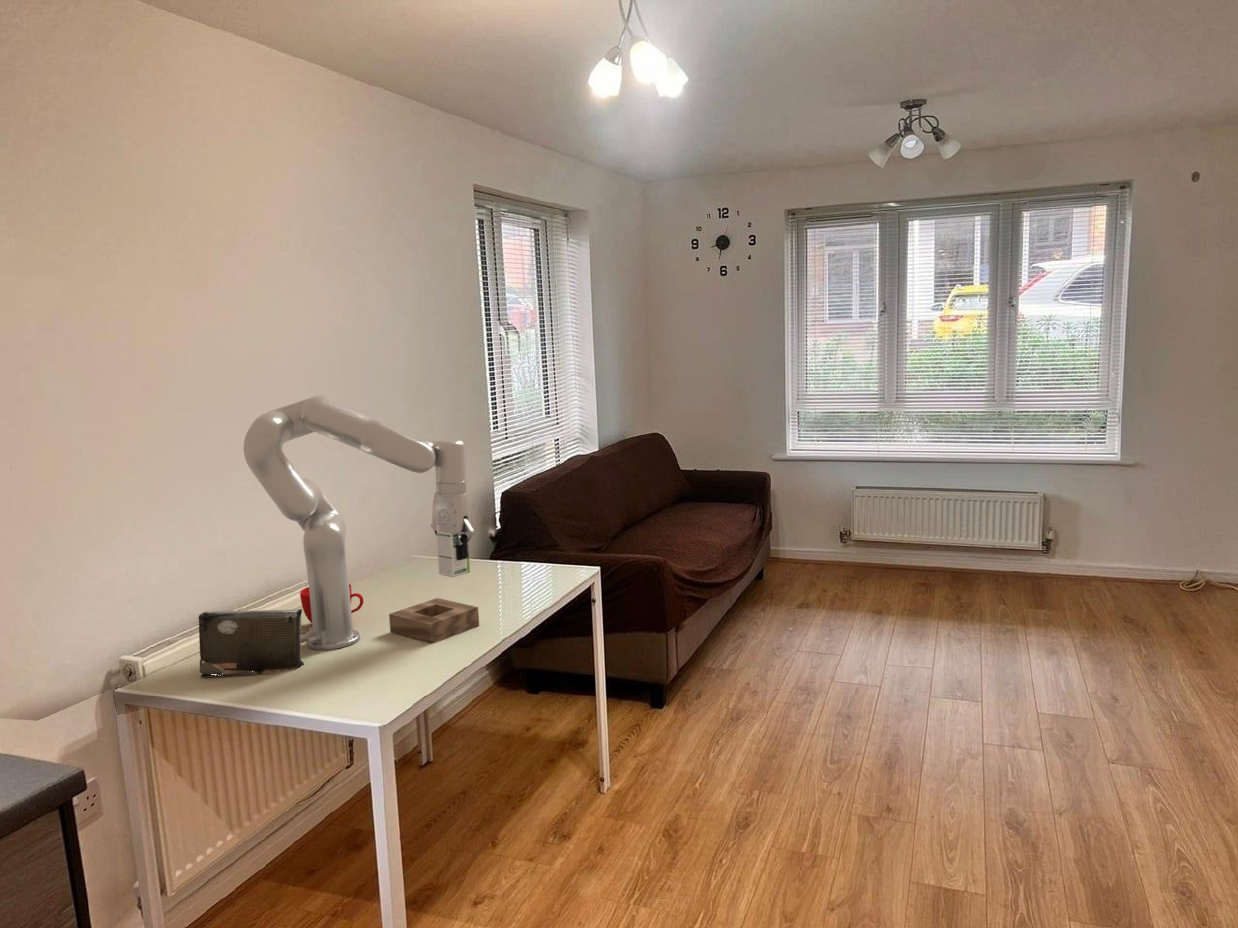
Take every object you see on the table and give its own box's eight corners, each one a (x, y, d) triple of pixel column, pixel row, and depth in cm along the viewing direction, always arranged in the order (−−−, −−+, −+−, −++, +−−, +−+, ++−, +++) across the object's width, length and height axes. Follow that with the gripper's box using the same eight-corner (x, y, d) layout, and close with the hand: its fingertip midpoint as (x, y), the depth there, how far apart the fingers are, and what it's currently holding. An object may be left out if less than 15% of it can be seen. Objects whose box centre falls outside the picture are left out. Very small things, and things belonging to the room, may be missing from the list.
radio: (312, 661, 207) (306, 600, 205) (300, 675, 198) (293, 611, 196) (213, 665, 207) (206, 605, 204) (197, 679, 198) (189, 616, 196)
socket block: (431, 643, 215) (429, 624, 214) (390, 632, 225) (389, 613, 224) (479, 625, 227) (478, 607, 227) (438, 615, 237) (437, 597, 236)
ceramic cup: (353, 634, 225) (349, 596, 223) (293, 632, 228) (290, 595, 227) (376, 618, 237) (373, 582, 236) (320, 616, 241) (316, 581, 239)
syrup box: (453, 577, 221) (451, 521, 219) (437, 574, 225) (435, 519, 223) (470, 573, 226) (468, 518, 224) (454, 569, 229) (452, 515, 227)
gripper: (417, 486, 225) (420, 555, 227) (463, 493, 214) (465, 565, 217) (440, 483, 231) (442, 550, 233) (485, 489, 220) (487, 559, 222)
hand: (453, 556), depth 225 cm, fingers closed on syrup box, 5 cm apart
